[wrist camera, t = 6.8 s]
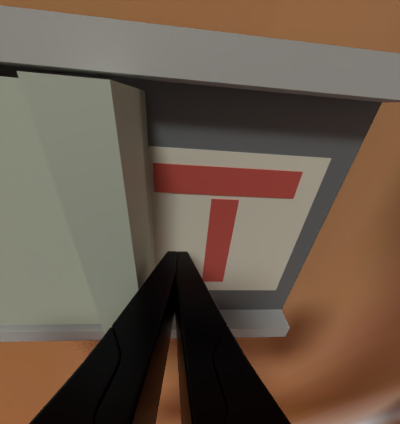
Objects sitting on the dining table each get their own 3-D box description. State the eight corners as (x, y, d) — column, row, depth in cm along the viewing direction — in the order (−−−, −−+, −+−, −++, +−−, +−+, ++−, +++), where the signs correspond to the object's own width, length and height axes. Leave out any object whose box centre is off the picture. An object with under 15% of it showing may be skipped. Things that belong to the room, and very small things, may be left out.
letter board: (361, 73, 7) (443, 58, 5) (269, 298, 14) (285, 336, 12) (-327, -2, 5) (-708, -80, 3) (-48, 298, 12) (-103, 343, 10)
